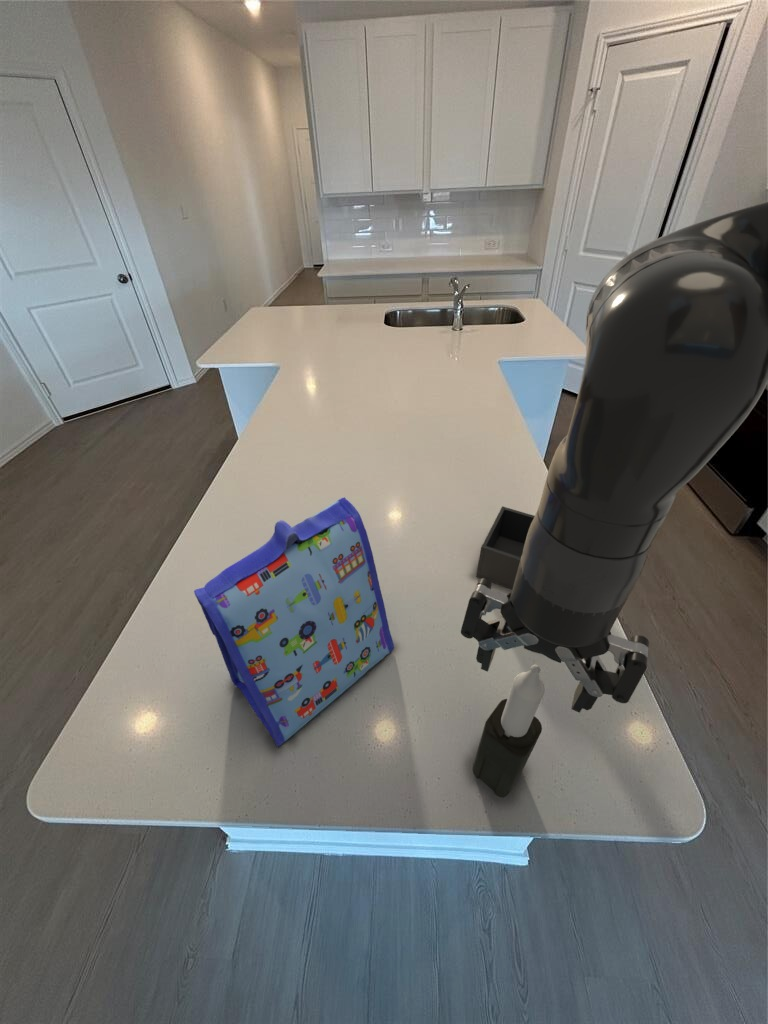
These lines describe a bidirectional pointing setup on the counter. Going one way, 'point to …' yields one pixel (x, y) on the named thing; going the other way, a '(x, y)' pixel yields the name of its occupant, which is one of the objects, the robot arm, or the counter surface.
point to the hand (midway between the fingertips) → (530, 682)
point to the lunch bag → (300, 617)
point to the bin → (504, 547)
